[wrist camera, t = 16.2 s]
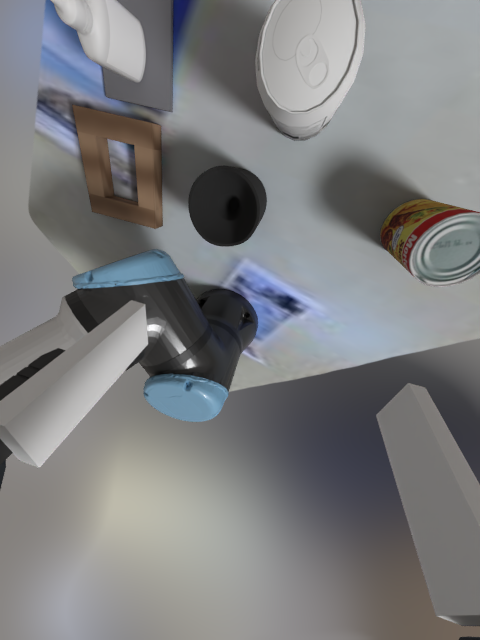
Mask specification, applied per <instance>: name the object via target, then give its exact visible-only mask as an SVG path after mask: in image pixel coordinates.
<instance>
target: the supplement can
mask: <svg viewBox="0 0 480 640" xmlns="http://www.w3.org/2000/svg"><path fill="white" fill-rule="evenodd" d="M365 27H366V25H365V20H364V14H363V9H362V4H361V0H275V2H274V3H273V4H272V6H271V7H270V9H269V11H268V14H267V16H266V19H265V21H264V24H263V26H262V29H261V31H260V34H259V39H258V45H257V52H256V58H255V68H256V80H257V87H258V90H259V93H260V96H261V98H262V101H263V104H264V106H265V108H266V109H267V111H268V113H269V114H270V116H271V118H272V119H273V121H274V123H275V124H276V126H277V127H278V129H279V130H280V131H281V132H282V133H283V135H284V136H286V137H288V138H290V139H292V140H294V141H305V140H308V139H310V138H312V137H315V136H317V135H318V134H319V133H320V132H321V131H322V130H323V129H324V128H325V127H327V125H328V123H329V122H330V120H331V119H332V117H333V116H334V114H335V112H336V111H337V109H338V107H339V106H340V104H341V102H342V101H343V99H344V97H345V95H346V94H347V92H348V90H349V89H350V87H351V85H352V84H353V82H354V79H355V77H356V74H357V71H358V68H359V65H360V62H361V59H362V56H363V49H364V38H365Z"/></svg>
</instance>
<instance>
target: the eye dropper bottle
mask: <svg viewBox="0 0 480 640" xmlns="http://www.w3.org/2000/svg"><path fill="white" fill-rule="evenodd" d="M51 1H52V2H53V3H54V6H55V9H56V12H57V14H58V16H59V17H60V19H61V20H62V21H63V22H64V23H65V24H67V25H68V26H70V27H72V28H73V29H75V30H77V33H78V37H79V40H80V42H81V45H82V47H83V50H84V52H85V54H86V55H87V57H88V58H89V59H91V60H92V61H94V62H95V63H97V64H99V65H101V66H103V67H105V68H107V69H109V70H111V71H113V72H114V73H116V74H118V75H120V76H122V77H124V78H126V79H128V80H131V81H134V82H140V81H141V80H142V77H143V74H144V69H145V63H146V46H145V39H144V33H143V29H142V26H141V24H140V21H139V20H138V19H137V18H136V17H135V16H133V15H132V14H131V13H130V12H129V11H128V10H127V9H126V8H125V7H123V6H122V5H121V4H120V3H119V2H118V1H117V0H51Z"/></svg>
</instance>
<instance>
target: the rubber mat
mask: <svg viewBox="0 0 480 640" xmlns="http://www.w3.org/2000/svg"><path fill="white" fill-rule="evenodd" d="M117 1H118V2H119V3H120V4H121V5H122V6H123V7H125V8H126V9H127V10H128V11H129V12H130V13H131V14H132V15H133V16H135V17H136V18H137V19H138V20H139V21H140V24H141V26H142V29H143V33H144V39H145V46H146V63H145V69H144V74H143V77H142V80H141V81H140V82H134V81H131V80H128V79H126V78H124V77H122V76H120V75H118V74H116V73H114V72H113V71H111V70H109V69H107V68H105V67H103V66H102V67H103V76H104V84H105V92H106V97H108V98H112V99H116V100H120V101H125V102H129V103H134V104H138V105H142V106H147V107H151V108H156V109H160V110H165V111H169V112H172V106H173V0H117Z"/></svg>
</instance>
